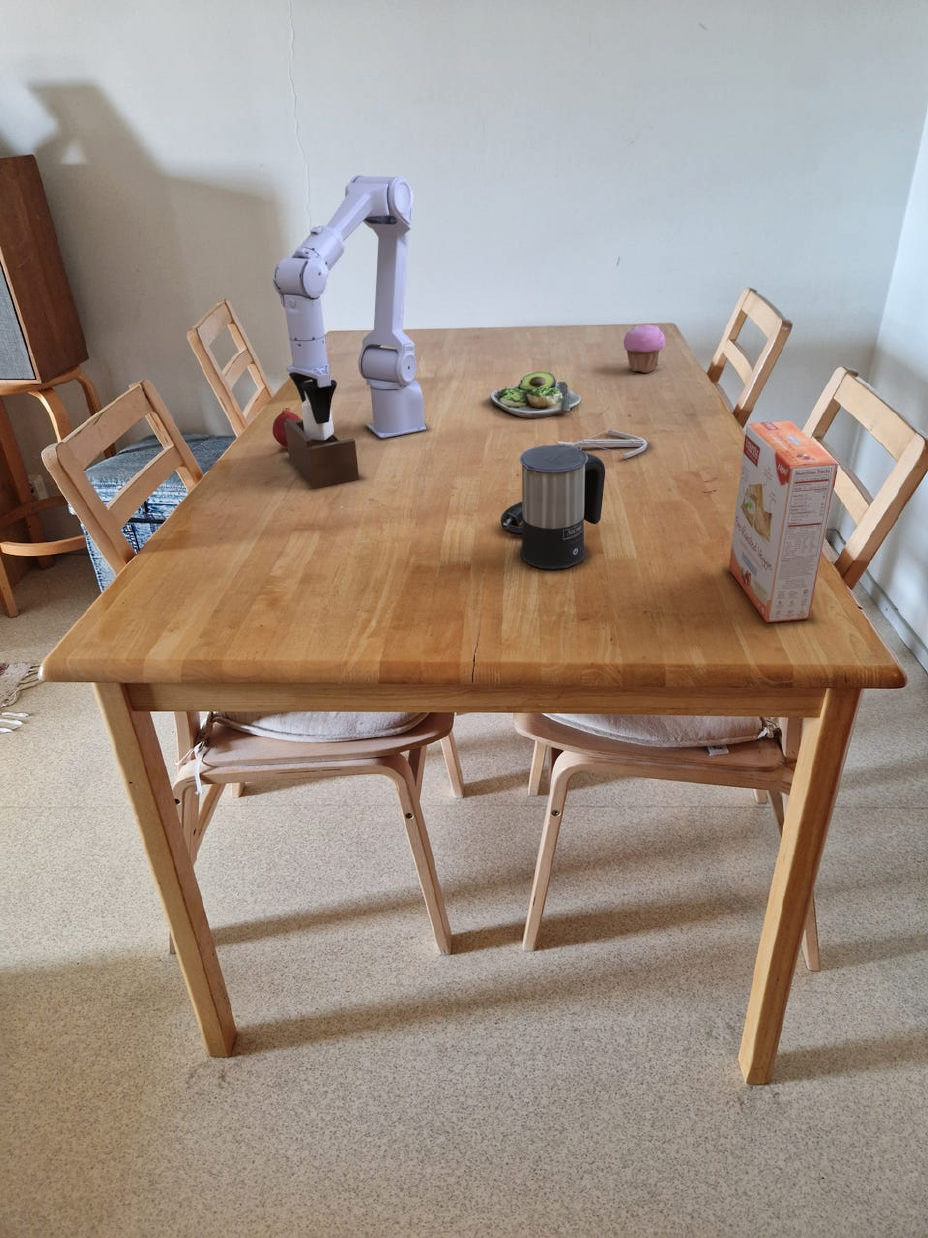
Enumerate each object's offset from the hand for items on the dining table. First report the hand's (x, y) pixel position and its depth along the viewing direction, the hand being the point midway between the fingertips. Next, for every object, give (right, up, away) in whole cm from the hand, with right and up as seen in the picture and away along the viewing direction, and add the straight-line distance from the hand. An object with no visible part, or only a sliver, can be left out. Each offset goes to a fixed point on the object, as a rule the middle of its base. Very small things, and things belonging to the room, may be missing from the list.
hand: (317, 417), depth 152 cm
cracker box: (+64, -31, -37) cm, 80 cm away
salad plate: (+40, +10, +31) cm, 51 cm away
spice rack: (0, -8, +5) cm, 9 cm away
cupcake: (+65, +21, +47) cm, 83 cm away
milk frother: (+36, -24, -22) cm, 48 cm away
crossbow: (+50, -4, +8) cm, 51 cm away
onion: (-7, -3, +14) cm, 16 cm away
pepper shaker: (0, -3, +2) cm, 4 cm away
